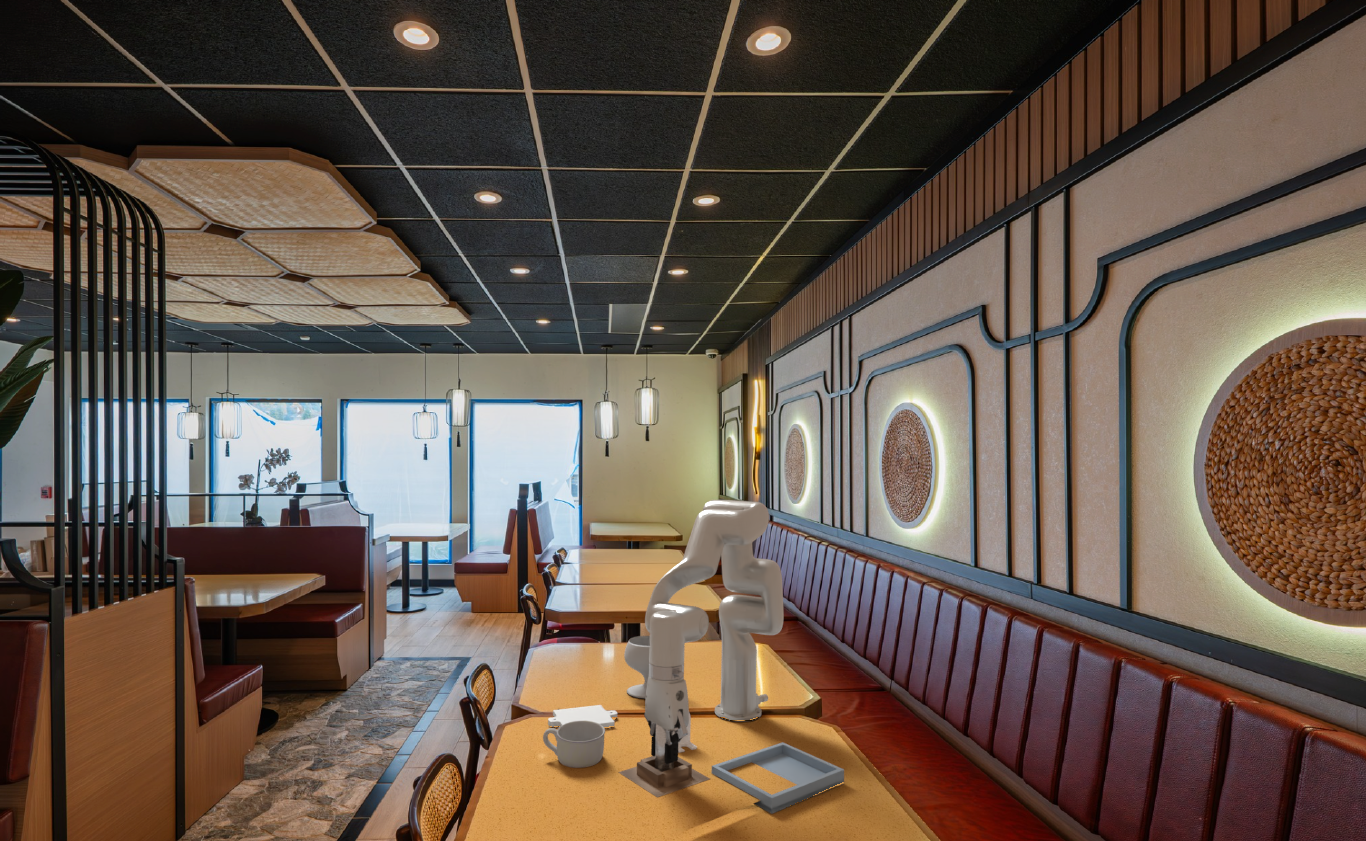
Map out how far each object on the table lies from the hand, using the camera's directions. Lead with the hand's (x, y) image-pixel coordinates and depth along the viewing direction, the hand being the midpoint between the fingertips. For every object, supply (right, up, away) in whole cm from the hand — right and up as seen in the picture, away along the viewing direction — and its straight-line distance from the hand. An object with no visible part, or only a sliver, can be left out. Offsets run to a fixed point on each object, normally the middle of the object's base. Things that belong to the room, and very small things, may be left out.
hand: (664, 757), depth 155 cm
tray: (+24, -6, +1) cm, 25 cm away
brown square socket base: (0, -5, 0) cm, 5 cm away
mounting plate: (-22, -7, +34) cm, 41 cm away
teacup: (-21, -5, +8) cm, 23 cm away
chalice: (-6, -8, +57) cm, 58 cm away
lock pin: (0, -4, 0) cm, 4 cm away
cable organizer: (+3, -6, +17) cm, 19 cm away
